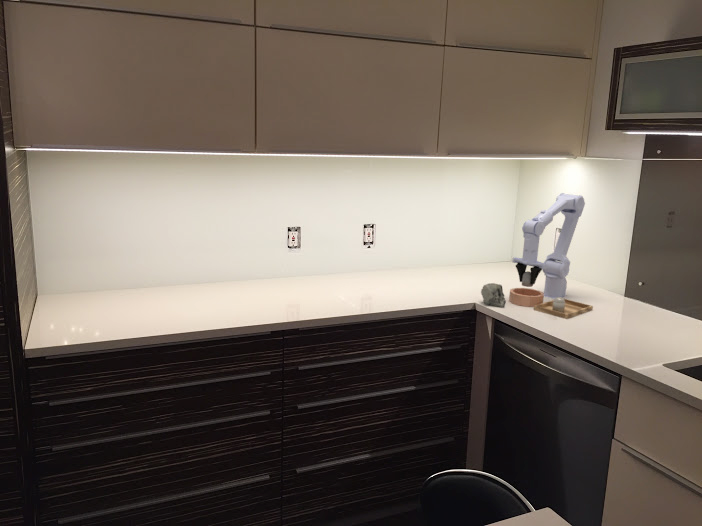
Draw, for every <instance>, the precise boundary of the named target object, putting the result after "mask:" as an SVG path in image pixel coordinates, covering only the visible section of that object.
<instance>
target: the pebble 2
mask: <svg viewBox="0 0 702 526" xmlns="http://www.w3.org/2000/svg"><path fill="white" fill-rule="evenodd" d="M564 299H565V298H564V297H562V298H561V297H557V298H555V299H553V300H554V301H553V308H552V310H554V311H557V312H561V313H564V308H565V300H564Z"/></svg>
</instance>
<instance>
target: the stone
mask: <svg viewBox="0 0 702 526" xmlns="http://www.w3.org/2000/svg"><path fill="white" fill-rule="evenodd" d="M480 293H481V296H482V299H483V303H484V304H485V305H489V304H490V306H491V305H492V306H496V307H500V308H504V307H505V306H506V298H505V294H504V292H503V285H502V284H498V283H495V282H494V283H486V284H483V286H482V288H481V289H480Z"/></svg>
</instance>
